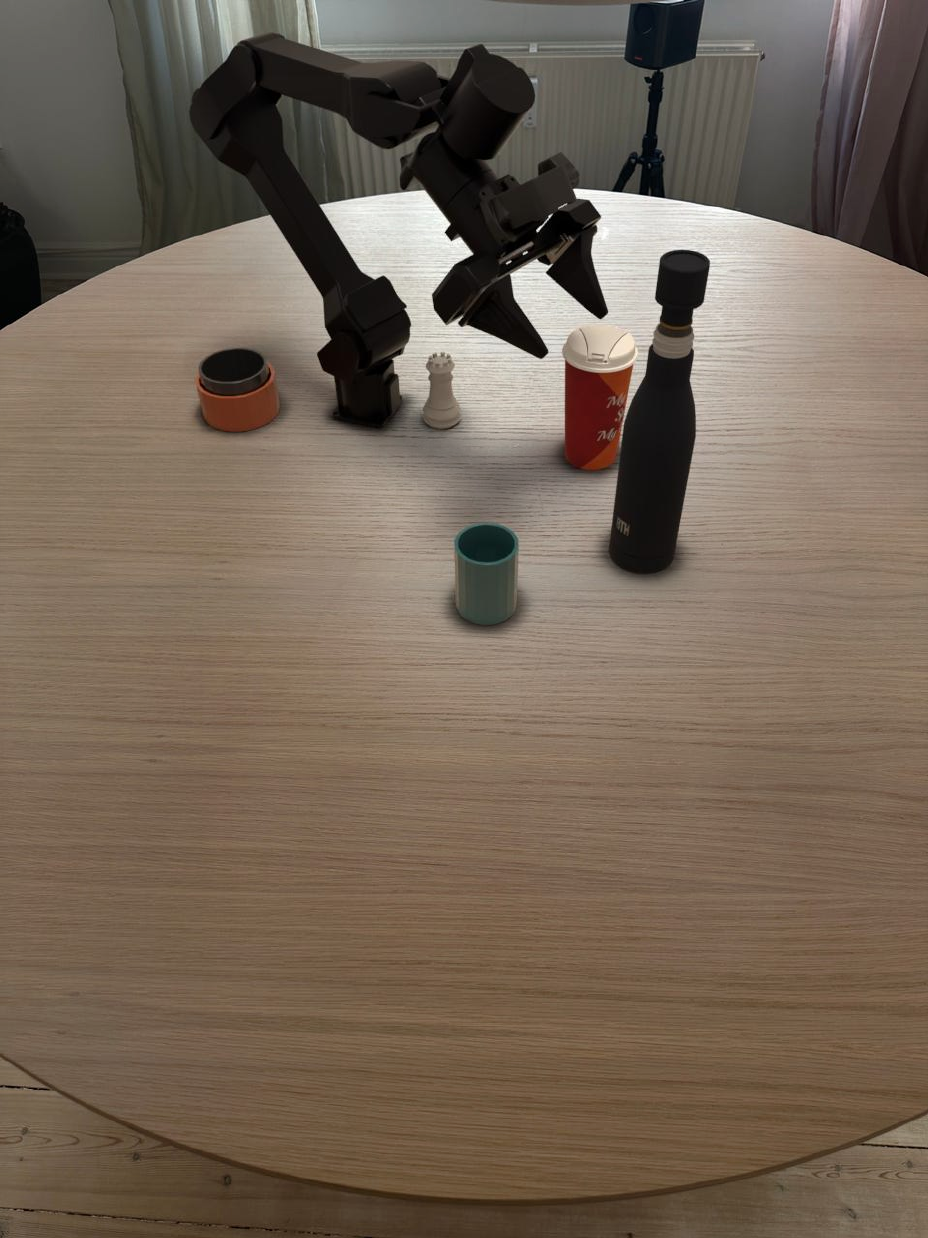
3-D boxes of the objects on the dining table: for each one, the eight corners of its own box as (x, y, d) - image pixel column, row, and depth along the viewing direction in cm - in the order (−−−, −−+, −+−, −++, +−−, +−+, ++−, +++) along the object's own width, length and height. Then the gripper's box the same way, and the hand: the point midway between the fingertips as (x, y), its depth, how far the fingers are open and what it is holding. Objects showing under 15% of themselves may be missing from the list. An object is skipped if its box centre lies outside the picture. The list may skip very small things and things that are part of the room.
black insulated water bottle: (679, 538, 98) (733, 247, 77) (667, 579, 94) (720, 284, 73) (616, 525, 100) (652, 236, 79) (601, 565, 96) (635, 272, 74)
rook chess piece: (467, 413, 115) (466, 352, 109) (451, 433, 112) (449, 371, 106) (433, 405, 116) (430, 343, 110) (416, 424, 113) (412, 363, 107)
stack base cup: (189, 423, 114) (180, 389, 111) (228, 383, 120) (221, 350, 117) (256, 438, 112) (250, 404, 108) (293, 397, 118) (287, 363, 114)
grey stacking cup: (196, 421, 114) (185, 376, 110) (229, 387, 119) (220, 342, 115) (254, 434, 112) (245, 388, 108) (286, 398, 117) (278, 353, 113)
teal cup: (446, 616, 91) (444, 556, 86) (468, 576, 95) (467, 516, 90) (505, 631, 90) (506, 571, 84) (524, 590, 93) (527, 530, 88)
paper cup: (622, 479, 105) (636, 363, 95) (551, 471, 106) (557, 356, 97) (628, 438, 111) (642, 324, 101) (560, 430, 112) (568, 317, 102)
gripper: (440, 162, 75) (563, 326, 76) (580, 100, 86) (687, 245, 87) (383, 250, 85) (494, 395, 86) (516, 185, 95) (613, 315, 96)
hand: (575, 335), depth 88 cm, fingers open, 9 cm apart
